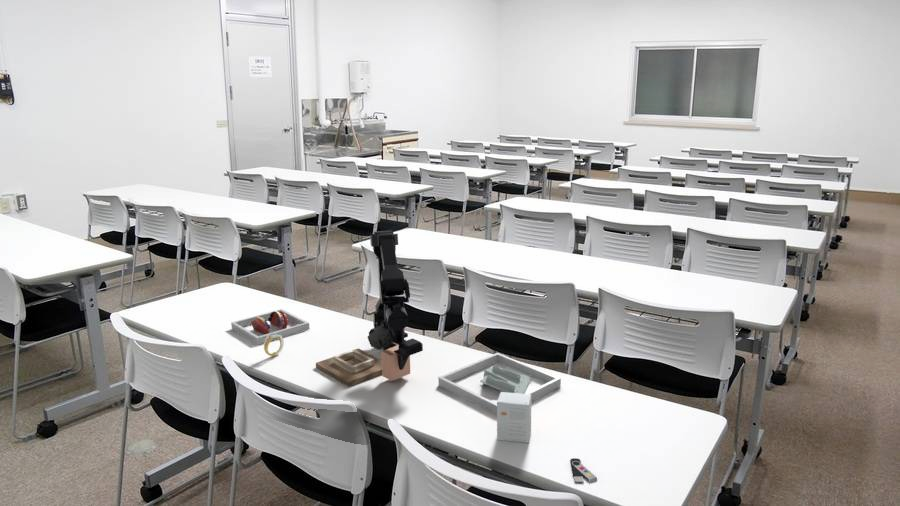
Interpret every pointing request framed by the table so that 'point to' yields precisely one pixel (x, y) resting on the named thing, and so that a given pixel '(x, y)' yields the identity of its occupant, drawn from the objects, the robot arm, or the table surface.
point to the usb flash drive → (580, 471)
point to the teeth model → (274, 319)
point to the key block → (393, 364)
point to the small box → (514, 417)
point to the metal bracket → (505, 380)
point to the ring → (266, 343)
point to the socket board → (351, 367)
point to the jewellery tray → (258, 340)
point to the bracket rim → (447, 379)
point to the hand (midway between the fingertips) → (396, 366)
